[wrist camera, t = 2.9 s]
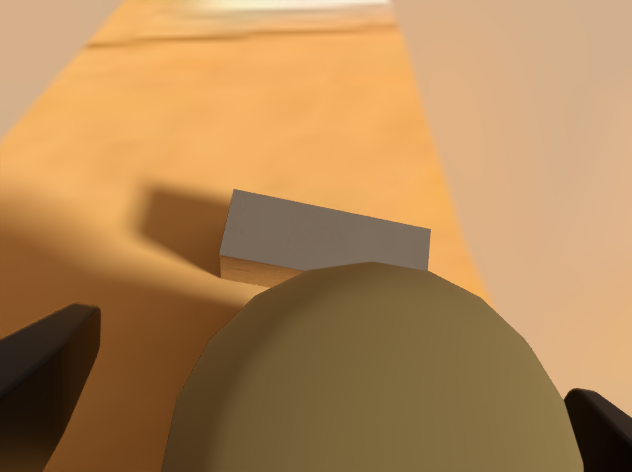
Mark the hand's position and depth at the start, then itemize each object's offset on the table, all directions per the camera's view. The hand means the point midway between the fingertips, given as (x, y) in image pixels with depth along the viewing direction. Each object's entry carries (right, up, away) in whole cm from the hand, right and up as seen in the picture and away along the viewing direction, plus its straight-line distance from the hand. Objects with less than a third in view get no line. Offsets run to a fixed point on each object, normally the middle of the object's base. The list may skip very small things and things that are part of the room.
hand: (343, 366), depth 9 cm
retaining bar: (-1, +1, +8) cm, 8 cm away
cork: (-1, -3, +6) cm, 7 cm away
